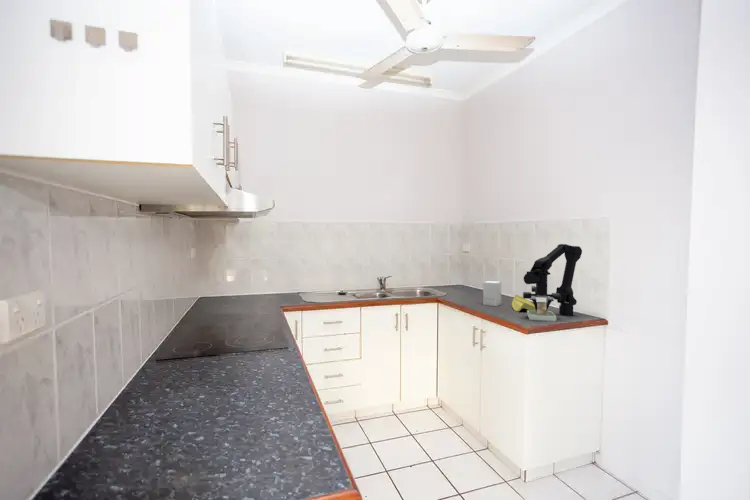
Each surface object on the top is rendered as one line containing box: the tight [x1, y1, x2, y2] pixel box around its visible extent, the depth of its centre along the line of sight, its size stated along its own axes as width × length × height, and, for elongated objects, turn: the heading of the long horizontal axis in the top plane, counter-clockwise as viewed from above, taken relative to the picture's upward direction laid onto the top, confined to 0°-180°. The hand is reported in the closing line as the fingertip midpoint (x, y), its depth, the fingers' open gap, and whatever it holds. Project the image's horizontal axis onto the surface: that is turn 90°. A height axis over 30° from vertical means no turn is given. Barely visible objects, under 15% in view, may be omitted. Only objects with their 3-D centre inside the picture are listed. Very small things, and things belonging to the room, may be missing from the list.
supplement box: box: [482, 280, 502, 307], centre depth 241 cm, size 9×9×15 cm
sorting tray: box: [526, 309, 557, 322], centre depth 203 cm, size 13×13×2 cm
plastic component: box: [511, 294, 536, 313], centre depth 226 cm, size 20×7×10 cm
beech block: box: [536, 301, 546, 315], centre depth 202 cm, size 4×4×6 cm
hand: (541, 311), depth 203 cm, fingers closed on beech block, 4 cm apart
